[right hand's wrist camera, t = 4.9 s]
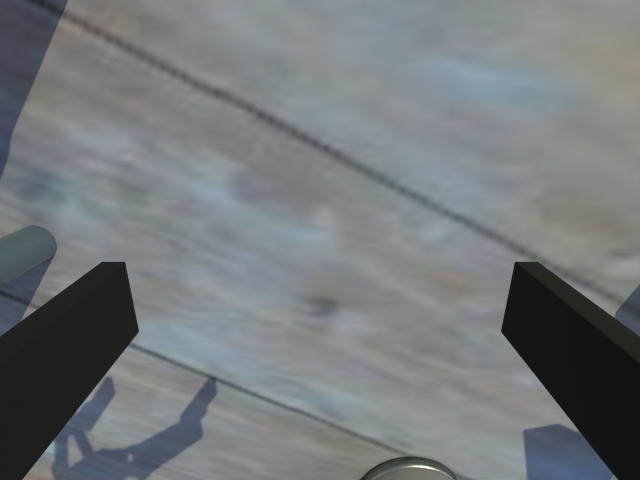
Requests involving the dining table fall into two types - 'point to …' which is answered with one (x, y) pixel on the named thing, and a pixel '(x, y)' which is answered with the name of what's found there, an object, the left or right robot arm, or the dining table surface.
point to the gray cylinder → (24, 251)
